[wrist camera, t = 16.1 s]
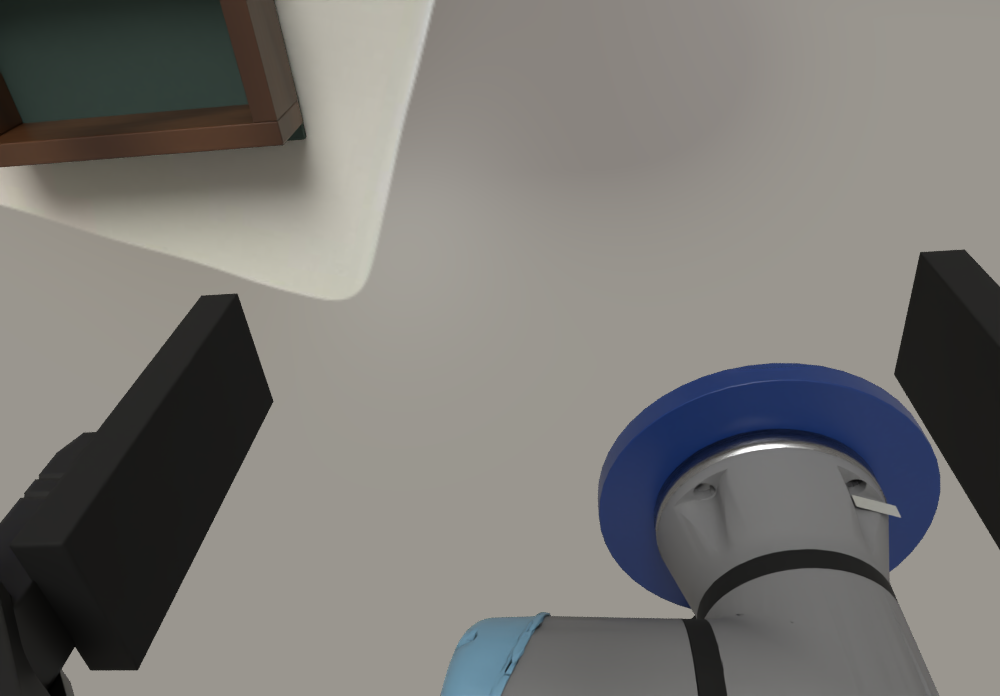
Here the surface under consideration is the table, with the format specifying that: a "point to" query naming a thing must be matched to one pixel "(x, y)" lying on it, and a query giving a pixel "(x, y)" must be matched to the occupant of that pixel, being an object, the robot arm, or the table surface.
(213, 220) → the table surface
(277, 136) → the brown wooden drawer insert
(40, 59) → the mat
